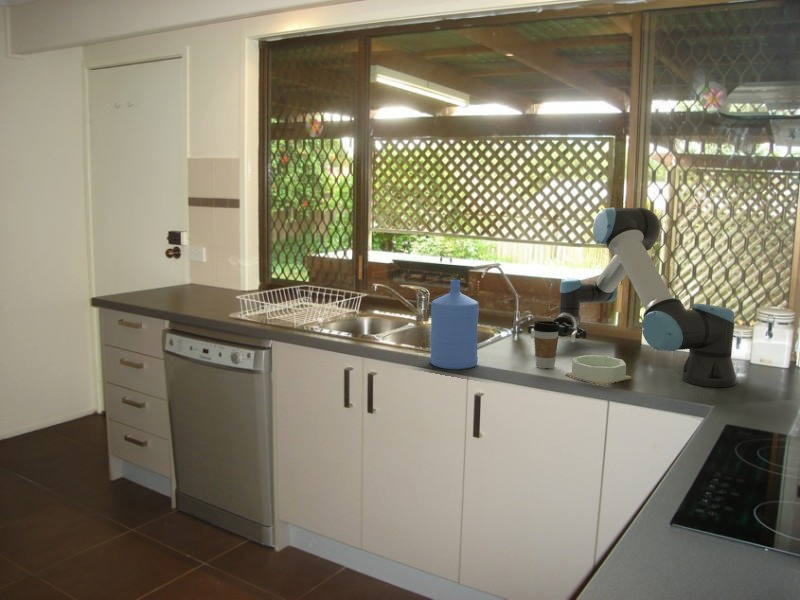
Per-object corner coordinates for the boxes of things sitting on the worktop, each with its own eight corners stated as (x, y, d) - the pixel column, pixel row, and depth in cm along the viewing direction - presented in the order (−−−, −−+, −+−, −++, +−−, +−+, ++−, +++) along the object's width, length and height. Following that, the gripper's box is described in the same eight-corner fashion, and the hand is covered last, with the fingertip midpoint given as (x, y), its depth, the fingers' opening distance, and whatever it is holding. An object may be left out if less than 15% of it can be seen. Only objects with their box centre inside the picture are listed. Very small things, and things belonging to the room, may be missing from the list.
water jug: (461, 372, 215) (463, 284, 210) (420, 364, 224) (421, 280, 220) (486, 363, 227) (488, 279, 222) (447, 355, 236) (448, 276, 232)
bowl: (634, 378, 209) (635, 362, 208) (602, 386, 200) (603, 370, 199) (593, 368, 221) (594, 353, 220) (562, 375, 212) (562, 359, 211)
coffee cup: (526, 365, 224) (528, 320, 222) (546, 362, 228) (548, 318, 226) (543, 371, 217) (544, 325, 214) (563, 368, 221) (565, 322, 218)
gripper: (598, 338, 245) (589, 350, 226) (529, 331, 255) (515, 343, 235) (599, 317, 243) (590, 328, 224) (530, 312, 253) (516, 322, 234)
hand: (552, 336), depth 230 cm, fingers open, 13 cm apart
